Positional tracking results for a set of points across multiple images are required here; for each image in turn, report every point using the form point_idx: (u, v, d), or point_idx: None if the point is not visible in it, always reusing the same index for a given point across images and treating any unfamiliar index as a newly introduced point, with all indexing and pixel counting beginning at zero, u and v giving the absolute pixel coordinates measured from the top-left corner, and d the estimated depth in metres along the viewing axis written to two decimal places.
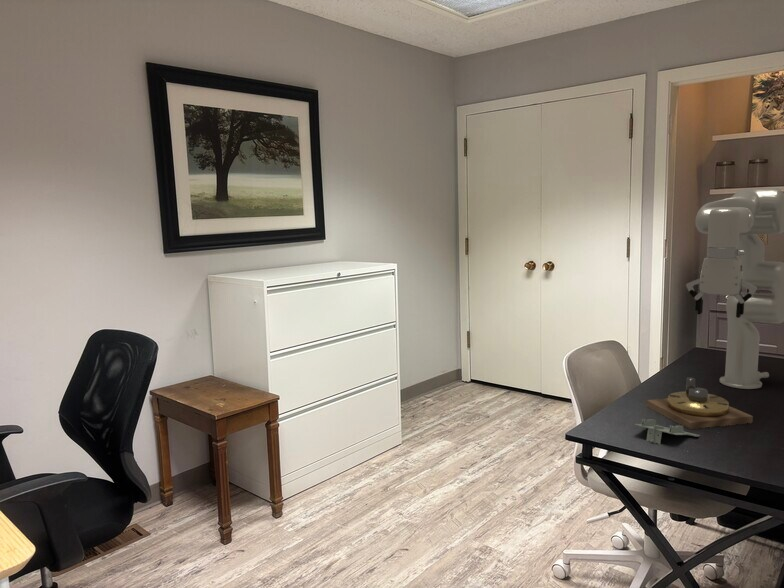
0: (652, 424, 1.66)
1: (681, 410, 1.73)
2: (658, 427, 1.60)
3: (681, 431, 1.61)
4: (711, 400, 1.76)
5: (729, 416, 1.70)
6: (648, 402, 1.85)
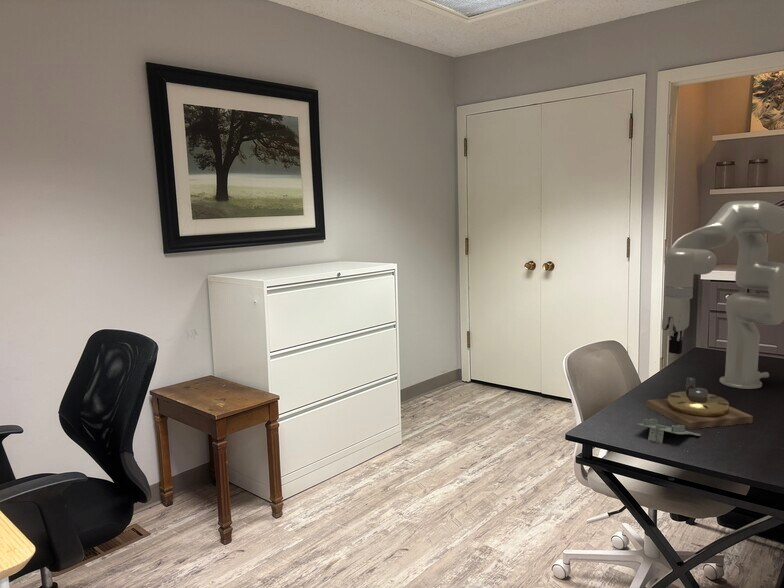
0: (654, 423, 1.66)
1: (681, 410, 1.73)
2: (660, 426, 1.60)
3: (683, 430, 1.62)
4: (711, 400, 1.76)
5: (729, 416, 1.70)
6: (648, 402, 1.85)
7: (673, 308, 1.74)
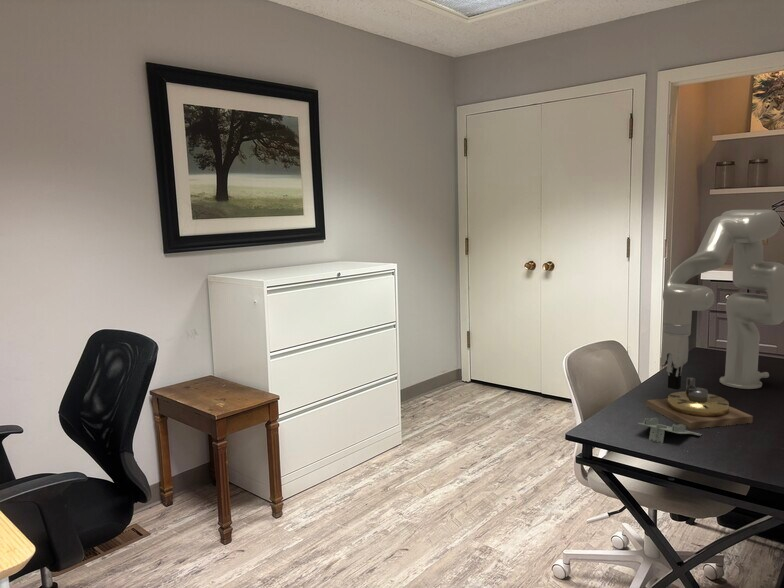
0: (654, 423, 1.66)
1: (681, 410, 1.73)
2: (661, 426, 1.61)
3: (683, 430, 1.62)
4: (711, 400, 1.76)
5: (729, 416, 1.70)
6: (648, 402, 1.85)
7: (671, 345, 1.76)
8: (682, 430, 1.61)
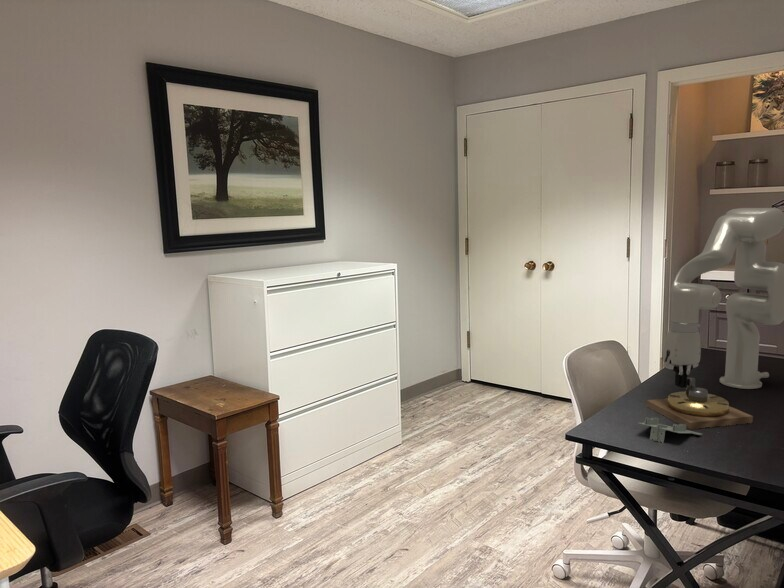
0: (655, 423, 1.66)
1: (681, 410, 1.73)
2: (661, 426, 1.61)
3: (684, 430, 1.62)
4: (711, 400, 1.76)
5: (729, 416, 1.70)
6: (648, 402, 1.85)
7: (670, 342, 1.80)
8: (683, 430, 1.62)
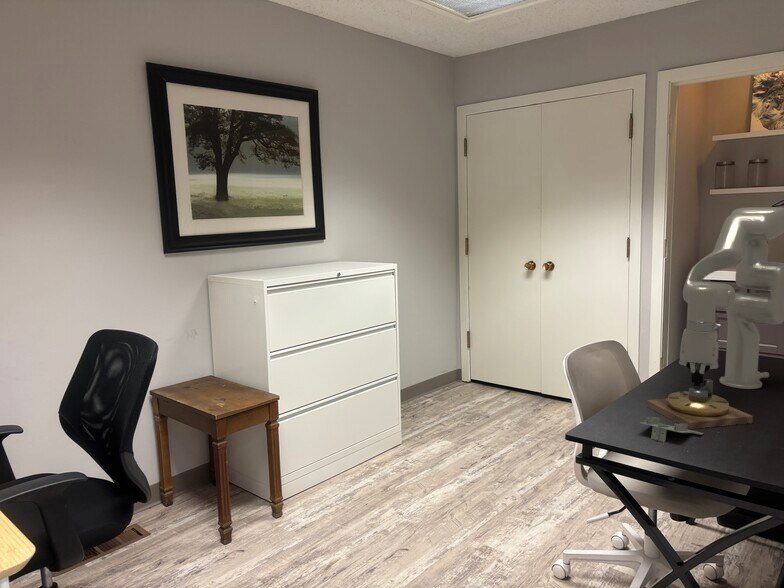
0: (656, 422, 1.67)
1: (669, 404, 1.79)
2: (663, 425, 1.61)
3: (685, 429, 1.63)
4: (708, 403, 1.74)
5: (729, 416, 1.70)
6: (648, 402, 1.85)
7: (682, 338, 1.83)
8: (684, 429, 1.62)
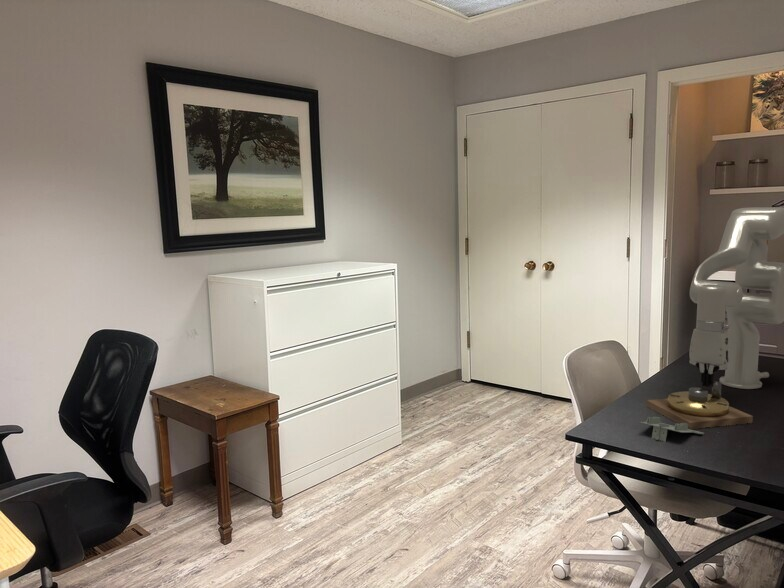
0: (657, 422, 1.67)
1: None
2: (663, 425, 1.61)
3: (686, 429, 1.63)
4: (704, 403, 1.74)
5: (729, 416, 1.70)
6: (648, 402, 1.85)
7: None
8: (684, 429, 1.62)
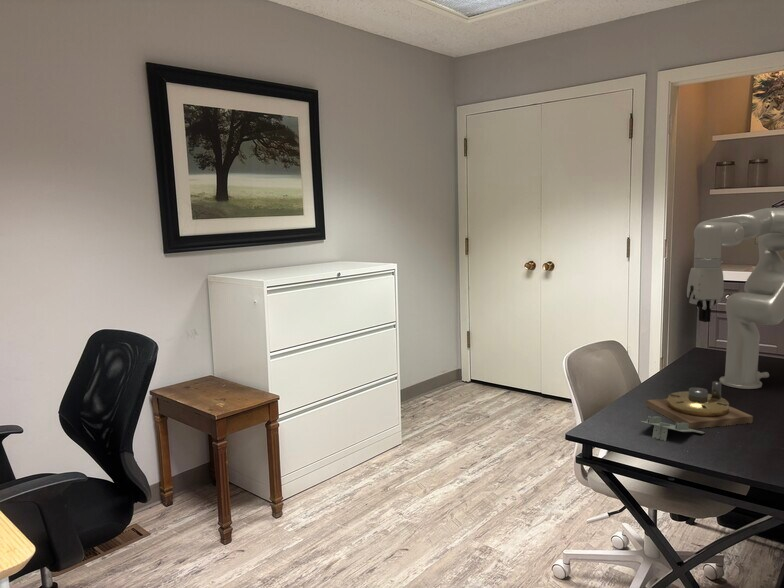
0: (657, 421, 1.68)
1: None
2: (664, 424, 1.62)
3: (686, 428, 1.63)
4: (704, 403, 1.74)
5: (729, 416, 1.70)
6: (648, 402, 1.85)
7: (694, 277, 1.87)
8: (685, 428, 1.63)
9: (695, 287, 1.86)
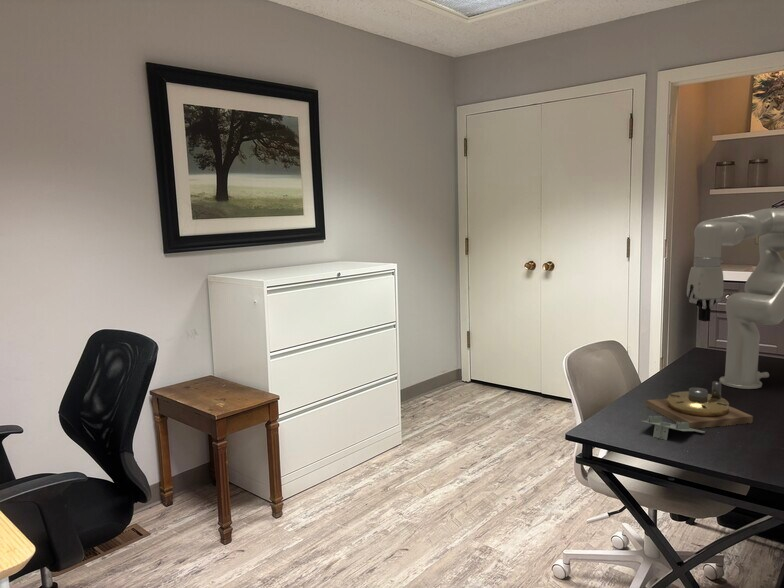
0: (658, 421, 1.68)
1: None
2: (665, 423, 1.62)
3: (687, 427, 1.64)
4: (704, 403, 1.74)
5: (729, 416, 1.70)
6: (648, 402, 1.85)
7: (693, 276, 1.87)
8: (686, 428, 1.63)
9: (695, 286, 1.86)
